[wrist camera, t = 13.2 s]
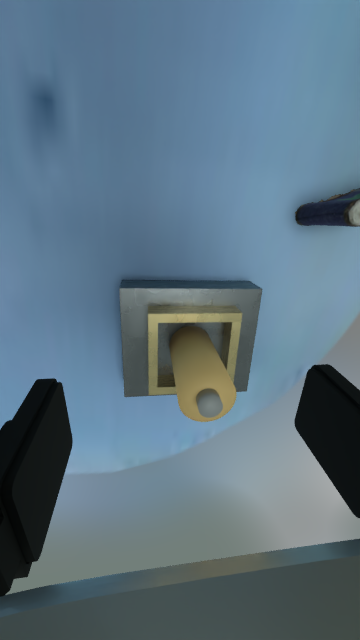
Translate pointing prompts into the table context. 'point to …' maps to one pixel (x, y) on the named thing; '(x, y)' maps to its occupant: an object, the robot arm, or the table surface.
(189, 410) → the cylinder
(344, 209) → the wallet
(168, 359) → the grey square socket base
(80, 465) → the table surface
